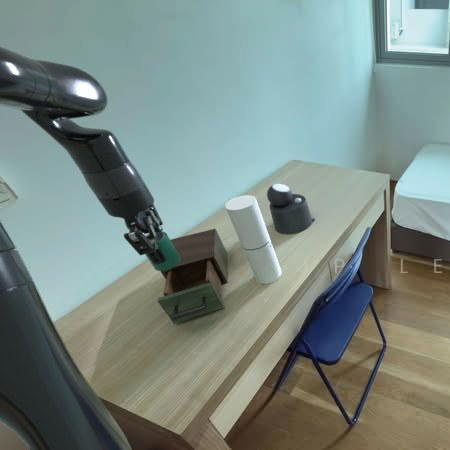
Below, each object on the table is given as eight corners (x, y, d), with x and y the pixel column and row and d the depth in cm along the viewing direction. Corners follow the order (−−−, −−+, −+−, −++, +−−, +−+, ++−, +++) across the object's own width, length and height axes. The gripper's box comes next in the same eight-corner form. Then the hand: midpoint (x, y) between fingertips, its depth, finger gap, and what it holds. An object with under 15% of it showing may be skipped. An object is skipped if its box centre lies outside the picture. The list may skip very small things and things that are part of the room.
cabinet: (227, 282, 89) (214, 256, 83) (177, 297, 85) (159, 270, 79) (227, 253, 100) (215, 228, 94) (183, 265, 96) (167, 240, 90)
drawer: (223, 319, 77) (210, 297, 72) (171, 337, 73) (154, 314, 68) (224, 275, 90) (213, 253, 85) (179, 288, 86) (165, 266, 82)
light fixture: (305, 190, 100) (259, 196, 97) (315, 230, 109) (273, 237, 106) (305, 173, 110) (264, 178, 108) (314, 210, 119) (276, 216, 117)
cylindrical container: (250, 281, 89) (218, 207, 74) (266, 265, 94) (238, 193, 80) (271, 286, 87) (242, 211, 73) (286, 269, 92) (261, 196, 78)
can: (173, 270, 68) (157, 245, 63) (149, 271, 67) (131, 246, 63) (185, 254, 72) (171, 230, 68) (163, 255, 72) (147, 231, 68)
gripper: (106, 176, 62) (148, 241, 72) (82, 210, 52) (135, 281, 62) (149, 168, 65) (184, 232, 75) (135, 199, 54) (178, 269, 64)
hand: (162, 254), depth 68 cm, fingers closed on can, 5 cm apart
